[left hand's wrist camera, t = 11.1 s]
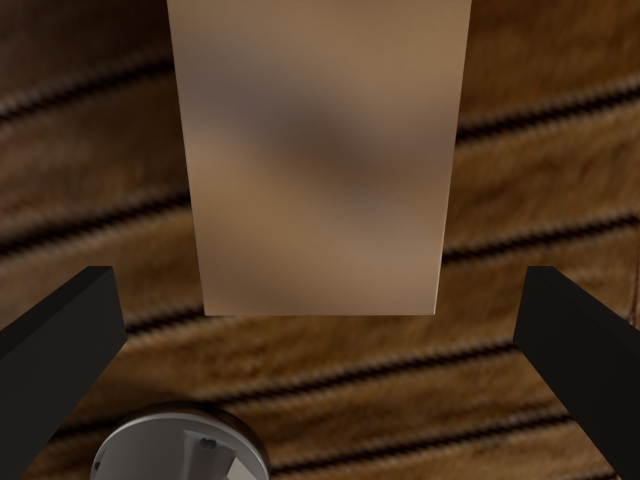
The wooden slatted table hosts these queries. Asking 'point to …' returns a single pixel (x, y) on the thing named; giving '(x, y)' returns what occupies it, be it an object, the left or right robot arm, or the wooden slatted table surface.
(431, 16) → the cabinet
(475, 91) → the wooden slatted table surface
